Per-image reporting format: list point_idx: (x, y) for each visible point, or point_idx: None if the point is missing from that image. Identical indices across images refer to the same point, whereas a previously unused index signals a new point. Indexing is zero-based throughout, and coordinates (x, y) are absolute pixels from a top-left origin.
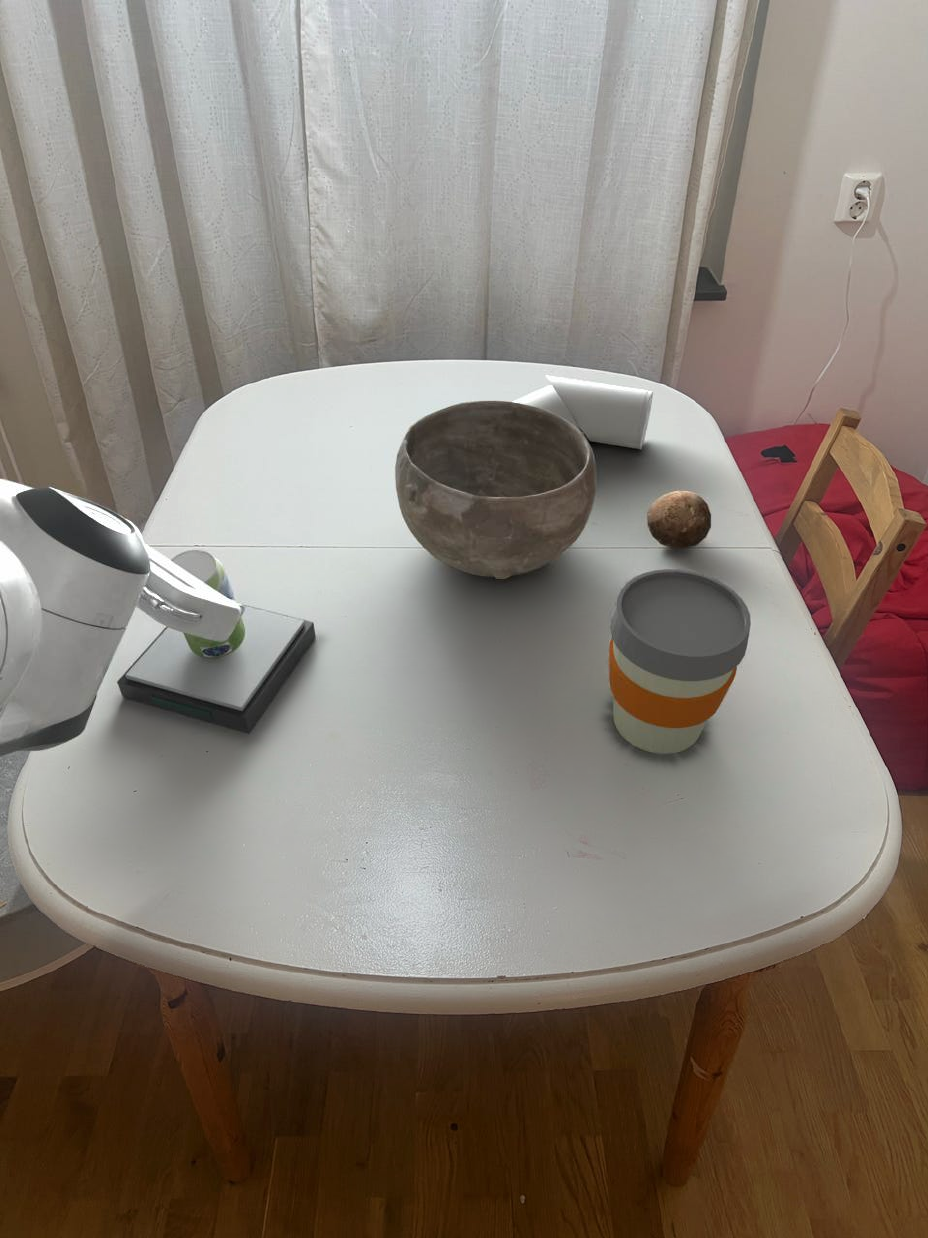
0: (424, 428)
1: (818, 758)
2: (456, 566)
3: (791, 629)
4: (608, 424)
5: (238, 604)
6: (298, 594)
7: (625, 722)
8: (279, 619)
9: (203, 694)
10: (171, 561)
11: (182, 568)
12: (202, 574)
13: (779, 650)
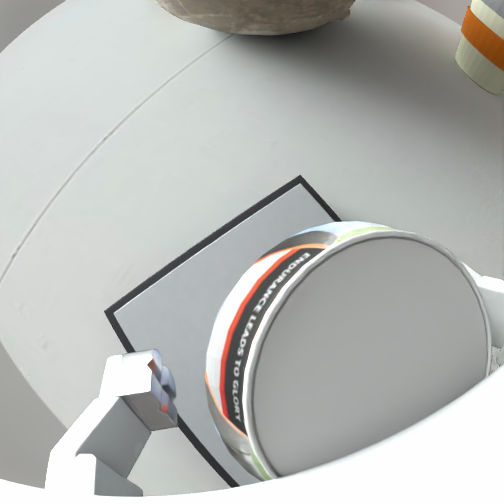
0: None
1: None
2: (308, 25)
3: (419, 4)
4: None
5: (465, 265)
6: (187, 173)
7: (500, 83)
8: (273, 214)
9: None
10: (364, 492)
11: (447, 434)
12: (457, 334)
13: (433, 15)
